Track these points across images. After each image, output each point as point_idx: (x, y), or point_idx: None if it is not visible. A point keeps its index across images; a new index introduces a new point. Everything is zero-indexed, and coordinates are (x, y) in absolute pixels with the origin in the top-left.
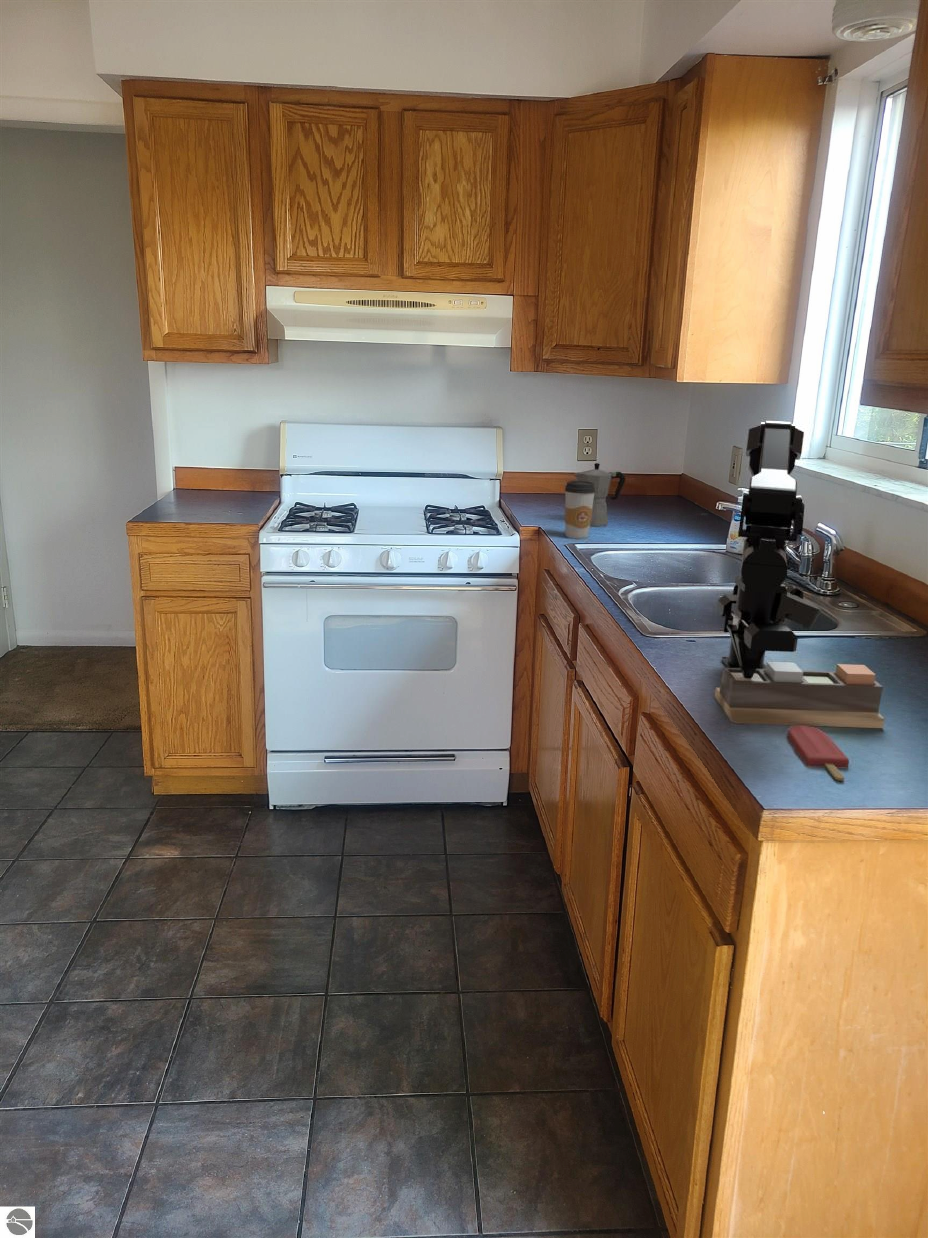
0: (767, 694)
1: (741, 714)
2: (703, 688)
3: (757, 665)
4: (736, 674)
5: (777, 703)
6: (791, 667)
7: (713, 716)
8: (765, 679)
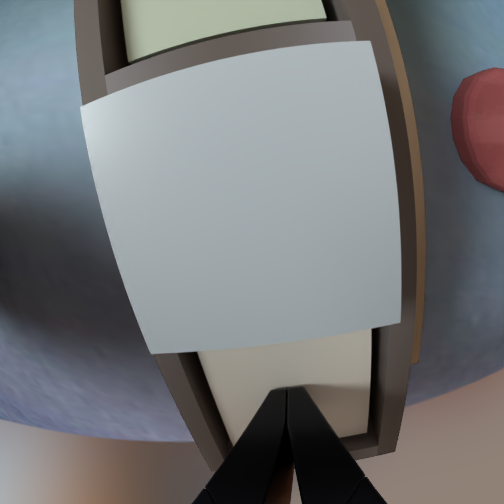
0: None
1: (420, 340)
2: (132, 385)
3: (341, 444)
4: None
5: None
6: (249, 138)
7: None
8: None
